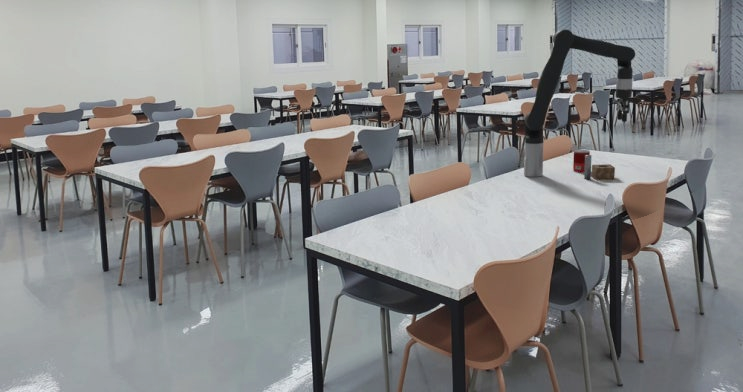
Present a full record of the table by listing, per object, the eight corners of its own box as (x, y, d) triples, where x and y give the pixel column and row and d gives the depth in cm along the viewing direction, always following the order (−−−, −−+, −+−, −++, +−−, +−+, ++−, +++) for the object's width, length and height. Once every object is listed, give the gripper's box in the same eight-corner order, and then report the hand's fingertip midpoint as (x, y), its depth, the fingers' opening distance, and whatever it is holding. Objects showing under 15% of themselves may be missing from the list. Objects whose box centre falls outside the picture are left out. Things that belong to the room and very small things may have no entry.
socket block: (595, 179, 322) (596, 167, 320) (591, 176, 331) (592, 164, 329) (614, 179, 321) (614, 167, 319) (609, 175, 329) (610, 164, 328)
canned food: (590, 172, 341) (591, 151, 338) (575, 172, 341) (576, 152, 338) (586, 169, 348) (587, 149, 346) (571, 170, 348) (572, 149, 346)
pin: (584, 179, 323) (585, 156, 320) (583, 178, 326) (584, 155, 323) (591, 179, 323) (592, 155, 320) (589, 178, 325) (590, 154, 323)
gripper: (612, 87, 329) (610, 119, 333) (620, 89, 316) (617, 122, 319) (627, 87, 329) (625, 119, 332) (636, 89, 315) (633, 122, 318)
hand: (621, 120), depth 326 cm, fingers open, 8 cm apart
